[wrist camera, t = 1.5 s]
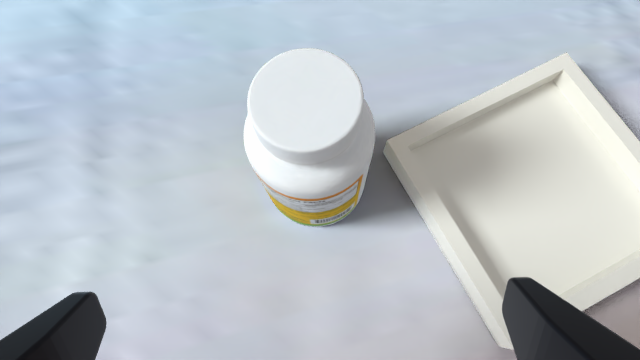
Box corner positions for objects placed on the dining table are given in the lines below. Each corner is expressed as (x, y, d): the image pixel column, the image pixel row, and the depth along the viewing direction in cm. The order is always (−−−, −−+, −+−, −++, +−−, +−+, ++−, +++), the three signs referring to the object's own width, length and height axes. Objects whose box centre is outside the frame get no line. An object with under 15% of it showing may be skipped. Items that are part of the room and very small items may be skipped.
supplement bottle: (296, 123, 24) (274, 8, 15) (379, 161, 23) (411, 64, 14) (251, 202, 23) (194, 129, 13) (337, 245, 22) (340, 201, 12)
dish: (684, 240, 21) (715, 234, 19) (498, 346, 20) (514, 350, 18) (550, 70, 24) (566, 52, 23) (383, 152, 23) (386, 140, 21)
